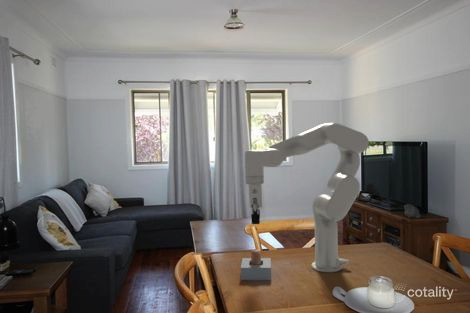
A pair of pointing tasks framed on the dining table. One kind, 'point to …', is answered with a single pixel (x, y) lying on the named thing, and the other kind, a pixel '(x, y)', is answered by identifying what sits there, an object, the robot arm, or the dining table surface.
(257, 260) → the peg
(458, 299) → the dining table surface
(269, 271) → the socket block
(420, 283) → the dining table surface
